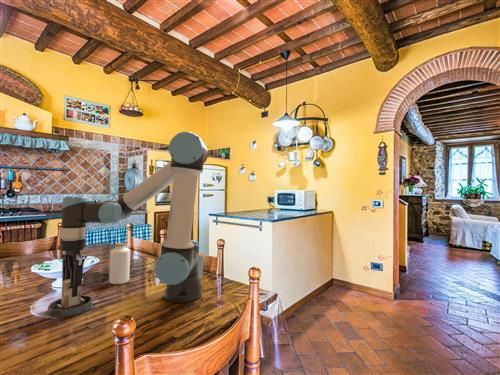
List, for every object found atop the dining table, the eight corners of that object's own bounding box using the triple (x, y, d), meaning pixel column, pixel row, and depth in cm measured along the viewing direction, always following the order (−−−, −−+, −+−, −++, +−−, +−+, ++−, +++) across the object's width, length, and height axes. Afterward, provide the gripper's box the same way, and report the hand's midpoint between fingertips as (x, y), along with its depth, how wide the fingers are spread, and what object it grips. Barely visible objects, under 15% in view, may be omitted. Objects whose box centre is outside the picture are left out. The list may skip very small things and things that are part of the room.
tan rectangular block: (80, 303, 94) (81, 278, 95) (64, 308, 90) (65, 282, 91) (76, 301, 96) (77, 277, 96) (61, 305, 92) (62, 280, 92)
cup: (199, 274, 134) (199, 254, 135) (206, 279, 128) (206, 258, 129) (185, 277, 130) (186, 256, 130) (192, 282, 124) (192, 260, 124)
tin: (98, 307, 95) (98, 300, 95) (56, 321, 84) (56, 314, 84) (83, 298, 102) (83, 292, 102) (42, 310, 92) (42, 303, 92)
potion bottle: (121, 285, 117) (122, 246, 117) (105, 284, 118) (106, 244, 119) (132, 279, 125) (134, 242, 125) (117, 278, 127) (119, 241, 127)
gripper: (94, 240, 92) (92, 306, 92) (75, 235, 102) (73, 295, 101) (70, 243, 86) (67, 314, 86) (52, 237, 95) (50, 301, 95)
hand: (70, 303), depth 93 cm, fingers closed on tan rectangular block, 3 cm apart
